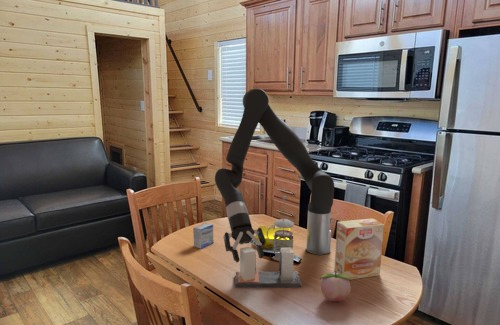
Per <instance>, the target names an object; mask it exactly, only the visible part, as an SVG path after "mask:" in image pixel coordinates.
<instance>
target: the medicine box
mask: <svg viewBox="0 0 500 325" xmlns="http://www.w3.org/2000/svg"><path fill="white" fill-rule="evenodd" d="M192 230H193V247H194V248H198V249H200V250H201V249H204V248H206V247H208V246H210V245H212V244H214V243H215V242H214V224H213V223H210V222H205V223H202V224H199V225H197V226H195V227H193V229H192Z"/></svg>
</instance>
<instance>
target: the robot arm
mask: <svg viewBox="0 0 500 325" xmlns="http://www.w3.org/2000/svg"><path fill="white" fill-rule="evenodd" d="M269 98H270V97H269V95H268V94H267V92H266V91H264V90H263V89H262V88H252V89H251V90H248V91H246V93H245V94H244V95H243V98H242V105H243V107H244V109H243V112H242V117H241V120H240V123H239V125H238V128H237V129H236V132H235V134H234V136H233V138H232V140H231V142H230V146H229V148H228V152H227V154H226V157H225V159H226V162H227V163H228V164H230V165H231V169H229V168H224V167H223V168H219V169H218V170H217V171H216V172H215V175H214V182H215V185H216V187H217V189H218V191H219V192H220V195H221V196H222V198H223V201H224V204H225V210H226V215H227V219H228V224H229V227H230V231H231V233H230V232H224V235H223V241H224V247H225V251H226V252H231V254H232V258H233V261H234V262H235V263H240V254H239V252H238V249H237V248H238V245H239V244H240V245H244V244H251V245H254V246H255V247H256V251H257V254H258V258H259V259H262V258H263V257H264V255H265V253H264V250H263V249H264V248H263V247H262V246H264V244H265V243H266V240H265V237H264V235H263V232H262V229H261V228H258V227H257V229H254V228H253V226H252V221H251V219H250V214H249V211H248V208H247V205H246V204H245V199H244V196H243V194H242V192H241V190H239V189H238V188H239V187H240V185H241V184H242V180H243V172H244V163H245V161H246V160H245V159H246V157H247V154H248V151H249V148H250V146H251V144H252V143H251V142H252V140H253V137H254V133H255V131H256V129H257V127H258V125H261V127H262V129H263V130H264V132H265V133H266V134H267V136H268V138H269V139H270V140H271V142H272V144H274V146H275V147H276V149H277V150H278V151H279V152H280V154H281V155H282V156H283V157H284V158H285V159H286V161H288V162H289V163H290V164H291V165H292V166H293V167H294V168H295V170H297V171H298V173H299V174H300V175H301V177H302V179H303V180H304V181H305V183H306V185H307V186H308V188H309V190H310V202H308V206H307V223H306V224H307V227H306V228H307V229H306V243H305V244H306V245H305V246H306V247H305V248H306V251H307V252H308V253H310V254H313V255H318V256H319V255H321V256H322V255H326V254H330V253H331V244H332V243H331V242H332V241H331V240H332V230H331V219H332V218H331V216H332V215H331V213H332V206H333V204H334V199H335V198H334V197H335V195H334V194H335V182H334V179H333V178H332V177H331V175H329V174H327V172H325V171H324V170H322V168H320V166H318V164H316V163H315V161H314V160H313V159H312V157H311V155H310V153H309V152H308V150H307V148H306V146H305V144H304V143H303V141H302V140H301V138H300V137H299V136H298V135H297V133H296V132H295V130H293V129H292V128H291V127H290V125H288V124H287V123H286V122H285V121H284V120H283V119H282V118H280V117H279V116H278V115H277V114H276V112H275V111H274V110H273V108H272V107H271V105H270V104H269V103H270V102H269V101H270V100H269ZM256 235H257V236H258V238H259V241H258V240H257V238H256ZM231 238H232V239H233V240H234V243H233V245H232V246H231V241H230V240H231Z"/></svg>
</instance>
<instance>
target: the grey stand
mask: <svg viewBox="0 0 500 325" xmlns="http://www.w3.org/2000/svg"><path fill="white" fill-rule="evenodd" d="M294 253H295V252H294V248H293V249H292V248H280V257H279V261H278V264H279V265H278V266H279V268H278V271H256V274H255V279H251V280H246V281H244V280H243V278H242V277H241V276H240V271H235V280H234V281H235V284H234V285H235V287H234V288H235V289H236V288H237V289H240V288H241V289H242V288H244V289H245V288H246V289H247V288H251V289H252V288H254V289H255V288H256V289H257V288H259V289H260V288H301V287H302V281H301V279H300V275H299V272H298V271H294V260H295V258H294V255H295V254H294Z"/></svg>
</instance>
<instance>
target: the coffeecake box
mask: <svg viewBox="0 0 500 325" xmlns="http://www.w3.org/2000/svg"><path fill="white" fill-rule="evenodd" d="M336 225H337V226H336V237H335V238H336V239H335V255H334V267H333V268H334V269H333V270H334V271H333V272H335V271H336V273H340V274H345V275H347V276H348V277H349V278H350V279H351V280H358V279H363V278H370V277H371V278H372V277H379V276H380V275H381V265H382V254H383V253H382V252H383V243H384V230H385V224H384V223H382V222H380V221H379V220H377V219H375V218H372V217H371V218H364V219H362V218H361V219H352V220H341V221H337V224H336Z"/></svg>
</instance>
